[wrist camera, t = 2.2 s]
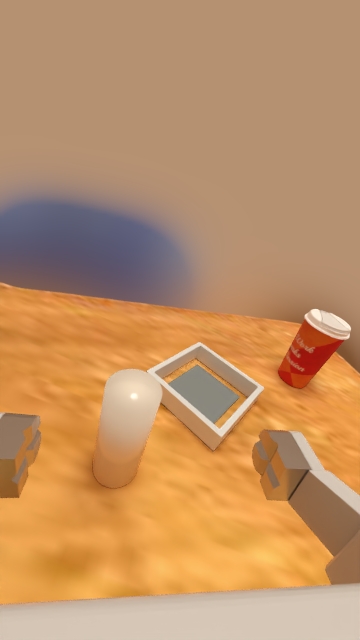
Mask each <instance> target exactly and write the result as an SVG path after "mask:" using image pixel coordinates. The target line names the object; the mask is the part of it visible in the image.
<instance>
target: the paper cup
mask: <svg viewBox="0 0 360 640" xmlns="http://www.w3.org/2000/svg"><path fill="white" fill-rule="evenodd" d="M304 317H305V320H304V322H303V324H302V325H301V327H300V329H299V331H298V333H297V335H296V337H295V339H294V341H293V343H292V344H291V346H290V348H289V350H288V352H287V354H286V356H285V358H284V360H283V362H282V364H281V366H280V368H279V370H278V374H279V376H280V378H281V379H282V380H283V381H284V382H286V383H287V384H289V385H290V386H292V387H295V388H303V387H305V386H306V385H307V384H308V382H309V381H310V380H311V379H312V378H313V377H314V375H315V374H316V373H317V372H318V371H319V370H320V368H321V367H322V366H323V365H324V364H325V363H326V361H327V360H328V359H329V358H330V357H331V355H332V354H333V353H334V352H335V351H336V349H337V348H338V347H339V346H340V345H341V343H342V342H343V341H344V340H345V339H348V338H349V337H350V334H349V333H350V331H351V328H350V326H349V325H348V324H347V323H346V322H345V321H344V320H342V319H341V318H339V317H337V316H335V315H333V314H331V313H327V312H325V311H322V310H320V312H319V310H318V309H313V310H311V311H310V312H309V313H307V314H306V315H305V316H304Z"/></svg>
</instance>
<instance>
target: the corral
mask: <svg viewBox="0 0 360 640" xmlns="http://www.w3.org/2000/svg"><path fill="white" fill-rule="evenodd" d="M195 358H196V359H198V360H199V361H200V362H202V363H203V364H204V365H206V366H207V367H208V368H210V369H211V370H212V371H214V372H215V373H216V374H218V375H219V376H220V377H222V378H223V379H224V380H225V381H227V382H228V383H229V384H231V385H232V386H233V387H235V388H236V389H237V390H239V391H240V392H241V393H243V394H244V395H245V396H247V397H248V399H247V400H246V401H245V402H244V403H243V404H242V405H241V406H240V407H239V408H238V410H237V411H236V412H235V413H234V414H233V415H232V416H231V417H230V418H229V419H228V420H227V422H226V423H225V424H224V425H223V426H222V427H221V428H220V429H219V428H218V427H217V426H215V425H214V423H215V422H216V421H217V420H218V419H219V418H220V417H221V416H222V415H223V414H224V413H225V412H226V411H227V410H228V409H229V408H230V407H231V406H232V405H233V404H234V403H235V402H236V401H237V399H238V398H239V396H238V395H237V394H235V393H234V392H233V391H232V390H230V389H229V388H228V387H226V386H225V385H224V384H222V383H221V382H220V381H218V380H217V379H216V378H215V377H213V376H212V375H211V374H209V373H208V372H207V371H205V370H204V369H203V368H201V367H200V366H199V365H196V366H195V367H193V368H192V369H190V370H189V371H187V372H186V373H184V374H182V375H181V376H179V377H178V378H176V379H175V380H173V381H172V382H170V383H169V384H167V383H166V382H165V381H164V380H163V379H162V378H164V377H166V376H167V375H169V374H171V373H172V372H174V371H175V370H177V369H179V368H180V367H182V366H184V365H185V364H187V363H188V362H190V361H192V360H193V359H195ZM146 372H147V373H149V374H151V375H152V376H153V377H155V378H156V379H157V381H158V382H159V383H160V385H161V388H162V399H161V403H162V404H163V405H164V406H165V407H166V408H167V409H169V410H170V411H171V412H172V413H173V414H174V415H175V416H176V417H177V418H178V419H179V420H180V421H181V422H183V423H184V424H185V425H186V426H187V427H188V428H189V429H190V430H191V431H192V432H193V433H194V434H195V435H197V436H198V437H199V438H200V439H201V440H202V441H203V442H204V443H205V444H206V445H207V446H208V447H209V448H210V449H212V450H213V451H214V450H215V449H216V448H217V447H218V445H219V444H220V443H221V442H222V441H223V440H224V438H225V437H226V436H227V435H228V434H229V432H230V431H231V430H232V429H233V428H234V427H235V425H236V424H237V423H238V422H239V421H240V420H241V418H242V417H243V416H244V415H245V414H246V412H247V411H248V410H249V409H250V408H251V407H252V405H253V404H254V403H255V402H256V401H257V399H258V398H259V396H260V394H261V393H262V391H263V389H264V387H263V386H261V385H260V384H258V383H257V382H256V381H254V380H253V379H251V378H250V377H248V376H247V375H246V374H244V373H243V372H241V371H240V370H239V369H237V368H236V367H234V366H233V365H232V364H230V363H229V362H227V361H226V360H225V359H223V358H222V357H220V356H219V355H217V354H216V353H215V352H213V351H212V350H210V349H209V348H208V347H206V346H205V345H203V344H202V343H201V342H198V343H196V344H195V345H193V346H191V347H189V348H187V349H186V350H184V351H182V352H180V353H178V354H176V355H175V356H173V357H171V358H169V359H167V360H166V361H164V362H162V363H160V364H158V365H156V366H155V367H153V368H151V369H149V370H147V371H146Z"/></svg>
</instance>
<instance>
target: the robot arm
mask: <svg viewBox="0 0 360 640" xmlns="http://www.w3.org/2000/svg"><path fill="white" fill-rule="evenodd" d="M39 425H40V416H36V415H25V414H14V413H0V498H19V497H20V494H21V492H22V490H23V487H24V485H25V483H26V480H27V478H28V467H29V466H30V465H32V464H33V463H34V461H35V459H36V456H37V454H38V450H39V446H40V441H41V432H40V431H39V430H38V427H39ZM259 438H260V441H258V442H257V443H255V445H254V447H253V450H252V459H253V464H254V467H255V470H256V471H257V472H258V473H259V474H260V475H261V479H260V483H261V486H262V488H263V491H264V494H265V496H266V499H267V500H276V501H288V503H289V504H290V505H291V506H292V508H293V509H294V510H295V511H296V512H297V514H298V515H299V516H300V517H301V518H302V519H303V521H304V522H305V523H306V524H307V525H308V527H309V528H310V529H311V530H312V531H313V532H314V534H315V535H316V536H317V537H318V538H319V540H320V541H321V542H322V543H323V544H324V545H325V547H326V548H327V549H328V550H329V551H330V553H331V554H332V555H333V556H334V558H333V559H332V560H331V561H330V562H329V563H328V564H327V565H326V569H325V571H326V573H327V575H328V577H329V580H330V582H331V584H332V585H318V586H301V587H284V588H267V589H250V590H233V591H216V592H199V593H182V594H165V595H148V596H131V597H114V598H97V599H80V600H64V601H47V602H30V603H13V604H0V640H360V496H359V495H358V494H357V493H356V492H354V491H353V490H352V489H351V488H349V487H348V486H347V485H346V484H344V483H343V482H342V481H341V480H340V479H338V478H337V477H336V476H335V475H333V474H332V473H331V472H330V471H325V469H324V468H323V466H322V464H321V463H320V461H319V460H318V458H317V456H316V455H315V453H314V452H313V450H312V448H311V447H310V445H309V444H308V442H307V440H306V439H305V437H304V435H303V434H302V433H301V432H297V431H283V430H263V431H261V433H260V435H259Z"/></svg>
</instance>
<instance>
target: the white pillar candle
mask: <svg viewBox="0 0 360 640" xmlns="http://www.w3.org/2000/svg"><path fill="white" fill-rule="evenodd" d="M161 399H162V388H161V385H160V383H159V382H158V381H157V379H156V378H155V377H153V376H152V375H151V374H149V373H147V372H145V371H142V370H137V369H125V370H121V371H118V372H116V373H114V374H113V375H112V376H111V377H110V378H109V379H108V380H107V382H106V385H105V391H104V397H103V403H102V409H101V415H100V421H99V427H98V433H97V439H96V445H95V451H94V458H93V464H92V470H93V474H94V477H95V478H96V480H97V481H98V482H99V483H100V484H101V485H103V486H105V487H108V488H120V487H123V486H125V485H127V484H128V483H129V482H131V481H132V480H133V478H134V477H135V475H136V473H137V471H138V468H139V465H140V462H141V459H142V456H143V453H144V450H145V447H146V444H147V441H148V438H149V435H150V432H151V429H152V426H153V423H154V420H155V417H156V414H157V411H158V408H159V405H160V402H161Z"/></svg>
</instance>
